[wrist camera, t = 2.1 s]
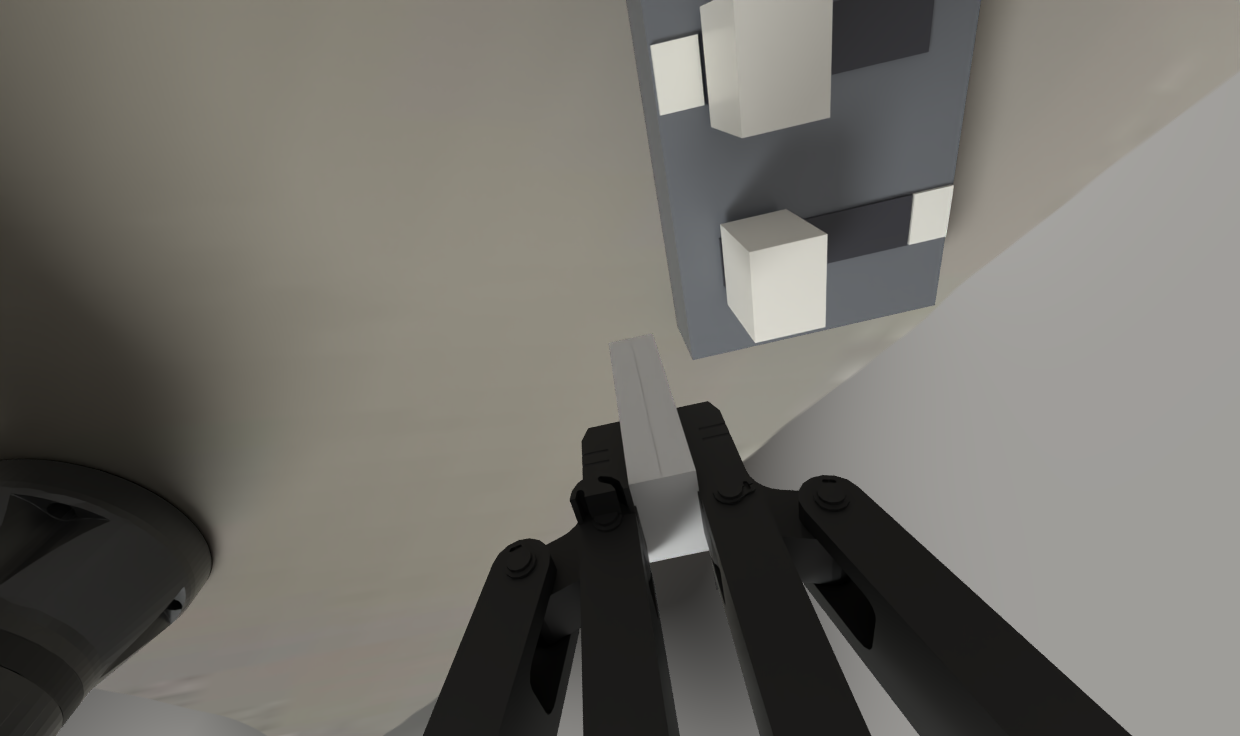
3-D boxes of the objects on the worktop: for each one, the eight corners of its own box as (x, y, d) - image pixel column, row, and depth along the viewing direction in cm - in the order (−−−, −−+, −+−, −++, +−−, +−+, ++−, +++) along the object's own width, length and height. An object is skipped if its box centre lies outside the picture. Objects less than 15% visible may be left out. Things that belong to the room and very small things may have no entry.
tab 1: (711, 126, 20) (741, 138, 16) (699, 6, 18) (732, -9, 14) (783, 109, 20) (830, 117, 16) (781, -13, 18) (833, -34, 14)
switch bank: (677, 326, 29) (693, 361, 26) (567, -376, 16) (568, -508, 12) (891, 277, 29) (937, 306, 26) (964, -479, 16) (1083, -642, 12)
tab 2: (727, 304, 24) (754, 343, 21) (720, 224, 22) (749, 252, 19) (787, 290, 24) (825, 327, 21) (786, 208, 22) (827, 234, 18)
